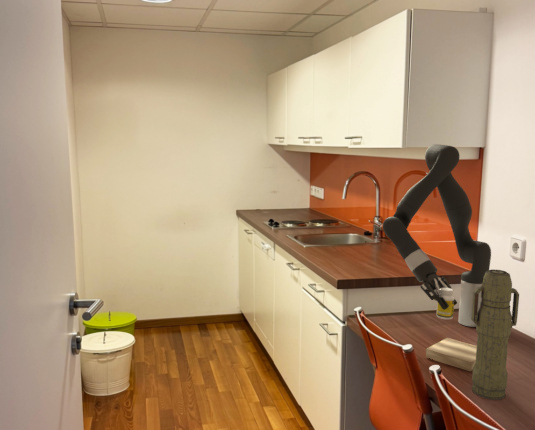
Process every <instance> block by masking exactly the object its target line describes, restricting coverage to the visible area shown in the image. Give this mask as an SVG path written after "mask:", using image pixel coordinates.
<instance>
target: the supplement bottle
mask: <svg viewBox="0 0 535 430" xmlns="http://www.w3.org/2000/svg"><path fill="white" fill-rule="evenodd" d="M440 293H441V296H442V297H443V298H444V300H445V301H446V302H447V304H448V305H449V307H448V308H447V309H445V310H443V309H442V307H441V306H440V304H439V303H438V302H437V301H436V302H437V303H436V317H437V318H439V319H441V320H453V318H454V313H455V311H454V310H455V305H454V299H455V296H454V295H453V294H454V290H453V288H452V289H450V288H448V287H447V288H441V290H440ZM455 300H456V299H455Z"/></svg>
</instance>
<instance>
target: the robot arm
mask: <svg viewBox="0 0 535 430" xmlns="http://www.w3.org/2000/svg"><path fill="white" fill-rule="evenodd" d="M424 158H425V159H424V160H425V163H426V166H427V168H428V170H429V172H428V173H427V174H426V175H425V176H424V177H423V178H422V179H420V180H419V181H418V182H417V183H415V184H413V186H411V187H410V188H409V189H408V190H407V192H406V193H405V194H404V196H403V197H402V198H401V199H400V201H399V202H398V204H397V206H396V210H395V212H394V214H393V215H392V216H389V217H386V218H384V220H383V223H382V230H383V233H384V234H385V236H386V237H387V238H388V239H390V241H391V242H392V243H393V245H394V246H395V248H396V250H397V252H398V253H399V255H400V257H402V259H403V260H404V261H405V264H406V265H407V267H408V269H409V270H410V271H411V273H412V274H413V275H414V277H415V278H416V280H417V281H418V282H419V283H422V284H421V285H420V289H421V290H422V291H423V292H424V293H425V294H426V296H427V297H428V298H429V299H430V300H431V301H433V300H434V301H435V302H438V303H439V304H440V306H441V307H442V309H443V310H445V309H447V308H448V307H449V305H448V304H447V302H446V301H445V300H444V298H443V297H442V296H441V293H440V290H441V288H450V289H453V288H452V286H451V285H450V283H449V282H448V279H447V278H446V276H444V275H443V276H442V277H440V276H439V275H438V274H437V272H438V268H437V267H436V266H435V264H434V263H433V262H432V260H431V258H430V257H429V256H428V255H427V253H425V251H424V250H423V249H422V248H421V247H420V245H419V244H418V242H417V241H416V240H415V239H414V238H413V237H412V235H411V234H410V232H409V231H408V227H409V225H410V224H411V221H412V220H413V218H414V217H415V216H416V214H417V213H418V211H419V210H420V208H421V207H422V206H423V205H424V203H425V201H426V200H427V199H428V197H429V196H430V195H431V194H432V193H433V191H434V190H436V188H437V190H438V193H439V196H440V198H441V202H442V206H443V207H444V211H445V214H446V216H447V218H448V221H449V224H450V227H451V230H452V234H453V237H454V242H455V246H456V250H457V255H458V256H459V259H460V260H461V261H463V262H465V263H467V264H471V269H470V270H469V271H463V272H462V273H461V277H460V288H459V289H460V291H459V305H458V306H459V307H458V318H457V319H458V323H459V324H460V325H463V326H464V327H465V326H466V327H472V328H476V324H475V323H474V322H473V321H472V320H471V318H472V305H473V292H474V291H475V289H476V288H477V287H481V286H482V279H483V277H484V275H485V273H486V271H489V270H490V266H491V259H492V258H491V257H492V249H491V246H490V245H489V243H487V242H484V241H479V240H474V239H473V237H472V236H471V233H470V229H469V228H470V227H469V226H470V221H471V219H472V216H473V209H472V205H471V202H470V200H469V199H470V198H469V196H468V194H467V193H466V191H465V190H464V188H463V187H462V186H461V185H460V184H459V182H458V181H457V180H456V178H455V177H454V176H453V173H452V171H454V169H455V168H456V167H457V165H458V163H459V161H460V152H459V150H458V149H457V148H456V147H455V146H452V145H446V144H438V143H437V144H432V145H429V146H428V148H426V151H425V154H424ZM481 299H482V298H481V291H480V293H479V297H478V310H479V308H480V302H481ZM457 304H458V301H457V300H456V299H454V306H456V305H457ZM477 312H478V311H477Z"/></svg>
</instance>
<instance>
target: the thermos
mask: <svg viewBox="0 0 535 430" xmlns="http://www.w3.org/2000/svg"><path fill="white" fill-rule="evenodd" d="M480 291H481V298H482V299H481V302H480V308H479V310H478V297H479V293H480ZM512 294H513V298H512ZM511 301H512V310H511V305H510V304H511ZM519 302H520V293H519V292H518V290H517V289H516V288H514V287H513V280H512V278H511V274H510V273H509V272H507V271H505V270H501V269H489V271H486V273H485V275H484V277H483V279H482V286H481V287H477V288H476V289H475V291H474V292H473V305H472V318H471V320H472V321H473V322H474V323H475V324H476V327H475V330H476V333H477V335H476V336H477V338H476V346H477V349H476V363H475V365H474V367H473V370H472V376H471V377H472V378H471V382H472V386H471V391H472V393H473V394H474V395H476V396H478V397H480V398H483V399H487V400H492V401H498V400H503V399H504V398H505V397H506V389H507V385H508V375H509V374H508V370H507V360H508V359H507V357H508V349H509V348H508V347H509V338H510V336H511V333H512V329H513V327H514V326H517V322H518V315H519V304H520V303H519ZM477 311H478V312H477Z"/></svg>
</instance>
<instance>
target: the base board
mask: <svg viewBox="0 0 535 430" xmlns="http://www.w3.org/2000/svg"><path fill="white" fill-rule="evenodd" d="M425 349H426V350H425V358H426V359H429V358H430V359H429V360H432V359H433V361H435V362H439V363H441V364H445V365H449V366H452V367H455V368H458V369H461V370H465V371H468V372H473V367H474V365H475V363H476V349H477V345H475V344H470V343H467V342H463V341H460V340H457V339H453V338H450V337H446V338H444V339H442V340H441V341H438V342H436V343H434V344H433V345H431V346H429V347H427V348H425Z"/></svg>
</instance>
